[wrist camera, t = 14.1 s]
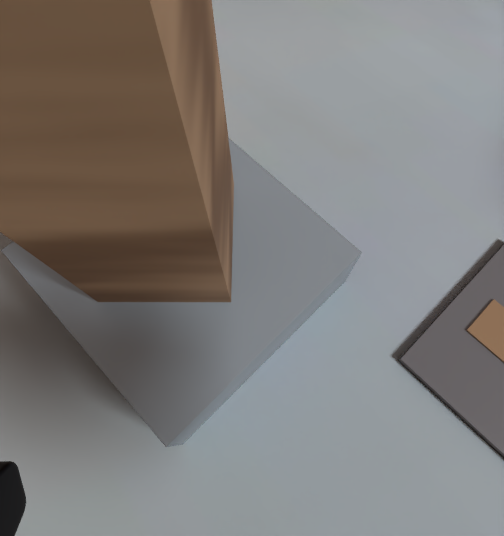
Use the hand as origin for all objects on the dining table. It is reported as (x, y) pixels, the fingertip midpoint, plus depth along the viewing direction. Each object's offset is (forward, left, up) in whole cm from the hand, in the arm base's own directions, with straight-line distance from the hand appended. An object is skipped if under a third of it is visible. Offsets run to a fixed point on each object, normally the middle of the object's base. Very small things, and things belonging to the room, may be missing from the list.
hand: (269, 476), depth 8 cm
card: (+11, -4, -11) cm, 16 cm away
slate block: (+3, +8, -11) cm, 14 cm away
